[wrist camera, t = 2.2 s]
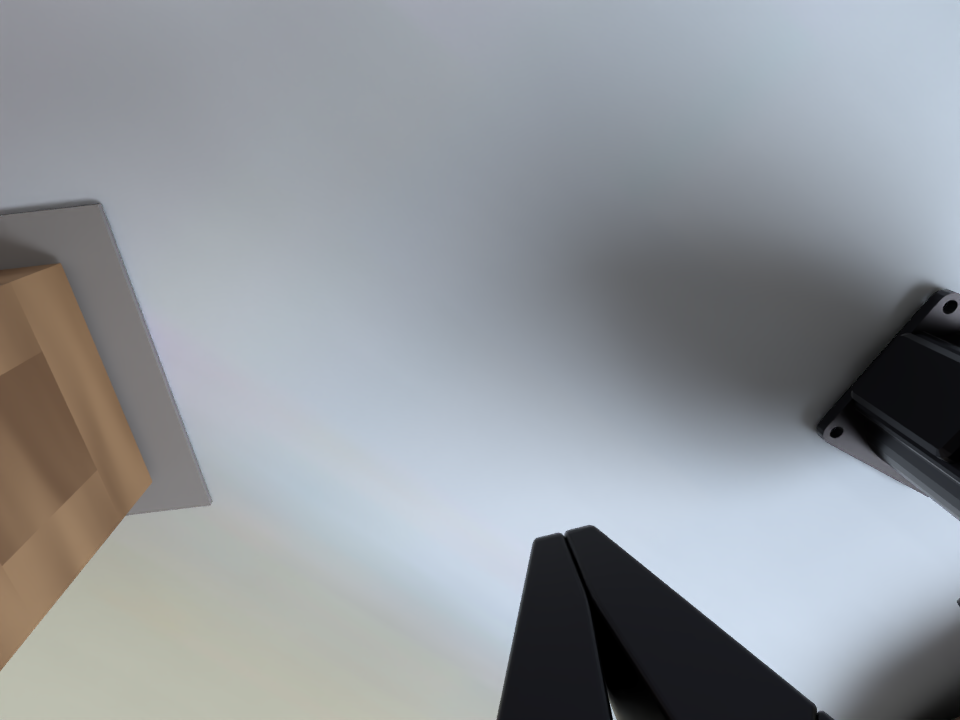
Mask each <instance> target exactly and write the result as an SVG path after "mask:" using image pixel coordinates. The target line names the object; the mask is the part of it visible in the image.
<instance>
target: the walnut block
mask: <svg viewBox="0 0 960 720" xmlns="http://www.w3.org/2000/svg"><path fill="white" fill-rule="evenodd" d="M151 483H152V479H151V477H150V475H149V472H148V470H147V467H146V465H145V463H144V460H143V458H142V455H141V453H140V451H139V448H138V446H137V444H136V441H135V439H134V436H133V434H132V432H131V429H130V427H129V424H128V422H127V420H126V417H125V415H124V413H123V410H122V408H121V405H120V403H119V401H118V398H117V396H116V393H115V391H114V389H113V386H112V384H111V382H110V379H109V377H108V374H107V372H106V370H105V367H104V365H103V362H102V360H101V358H100V355H99V353H98V351H97V348H96V346H95V343H94V341H93V339H92V336H91V334H90V331H89V329H88V327H87V324H86V322H85V319H84V317H83V315H82V312H81V310H80V308H79V305H78V303H77V300H76V298H75V296H74V293H73V291H72V288H71V286H70V284H69V281H68V279H67V277H66V274H65V272H64V269H63V267H62V265H61V263H57V264H48V265H40V266H31V267H22V268H14V269H5V270H0V671H1V670H2V668H3V667H4V666H5V665H6V663H7V662H8V661H9V660H10V658H11V657H12V656H13V655H14V653H15V652H16V651H17V650H18V648H19V647H20V646H21V645H22V644H23V642H24V641H25V640H26V639H27V637H28V636H29V635H30V634H31V632H32V631H33V630H34V629H35V627H36V626H37V625H38V624H39V622H40V621H41V620H42V619H43V617H44V616H45V615H46V614H47V612H48V611H49V610H50V609H51V608H52V606H53V605H54V604H55V603H56V601H57V600H58V599H59V598H60V596H61V595H62V594H63V593H64V591H65V590H66V589H67V588H68V586H69V585H70V584H71V583H72V581H73V580H74V579H75V578H76V576H77V575H78V574H79V573H80V572H81V570H82V569H83V568H84V567H85V565H86V564H87V563H88V562H89V560H90V559H91V558H92V557H93V555H94V554H95V553H96V552H97V550H98V549H99V548H100V547H101V545H102V544H103V543H104V542H105V540H106V539H107V538H108V537H109V536H110V534H111V533H112V532H113V531H114V529H115V528H116V527H117V526H118V524H119V523H120V522H121V521H122V519H123V518H124V517H125V516H126V514H127V513H128V512H129V511H130V509H131V508H132V507H133V506H134V504H135V503H136V502H137V501H138V500H139V498H140V497H141V496H142V495H143V493H144V492H145V491H146V490H147V488H148V487H149V486H150V485H151Z"/></svg>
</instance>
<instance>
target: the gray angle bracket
mask: <svg viewBox="0 0 960 720" xmlns="http://www.w3.org/2000/svg"><path fill="white" fill-rule="evenodd" d="M57 263H61V265H62V267H63V269H64V272H65V274H66V277H67V279H68V281H69V284H70V286H71V288H72V291H73V293H74V296H75V298H76V300H77V303H78V305H79V308H80V310H81V312H82V315H83V317H84V319H85V322H86V324H87V327H88V329H89V331H90V334H91V336H92V339H93V341H94V343H95V346H96V348H97V351H98V353H99V355H100V358H101V360H102V362H103V365H104V367H105V370H106V372H107V374H108V377H109V379H110V382H111V384H112V386H113V389H114V391H115V393H116V396H117V398H118V401H119V403H120V405H121V408H122V410H123V413H124V415H125V417H126V420H127V422H128V424H129V427H130V429H131V432H132V434H133V436H134V439H135V441H136V444H137V446H138V448H139V451H140V453H141V455H142V458H143V460H144V463H145V465H146V467H147V470H148V472H149V475H150V477H151V479H152V483H151V485H150V486H149V487H148V488H147V490H146V491H145V492H144V493H143V495H142V496H141V497H140V498H139V500H138V501H137V502H136V503H135V504H134V506H133V507H132V508H131V509H130V511H129V512H128V513H127V514H126V515H133V514H141V513H149V512H158V511H166V510H174V509H183V508H191V507H199V506H208V505H211V503H212V499H211V497H210V494H209V491H208V489H207V486H206V483H205V481H204V478H203V475H202V473H201V470H200V467H199V465H198V462H197V459H196V456H195V454H194V451H193V448H192V446H191V443H190V440H189V438H188V435H187V432H186V430H185V427H184V424H183V422H182V419H181V416H180V413H179V411H178V408H177V405H176V403H175V400H174V397H173V395H172V392H171V389H170V387H169V384H168V381H167V379H166V376H165V373H164V371H163V368H162V365H161V362H160V360H159V357H158V354H157V352H156V349H155V346H154V344H153V341H152V338H151V336H150V333H149V330H148V328H147V325H146V322H145V320H144V317H143V314H142V311H141V309H140V306H139V303H138V301H137V298H136V295H135V293H134V290H133V287H132V285H131V282H130V279H129V277H128V274H127V271H126V268H125V266H124V263H123V260H122V258H121V255H120V252H119V250H118V247H117V244H116V242H115V239H114V236H113V234H112V231H111V228H110V226H109V223H108V220H107V217H106V215H105V212H104V209H103V207H102V204H94V205H85V206H76V207H68V208H59V209H50V210H42V211H33V212H24V213H15V214H7V215H0V270H5V269H14V268H22V267H31V266H40V265H48V264H57Z"/></svg>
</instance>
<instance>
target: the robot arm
mask: <svg viewBox="0 0 960 720" xmlns="http://www.w3.org/2000/svg"><path fill="white" fill-rule="evenodd" d="M946 302H948V304H947V305H946V307H945V308H943V306H944V304H945V303H946ZM834 427H836V428H835V430H834V431H832V432H831V430H832V429H833V428H834ZM817 433H818V435H819V436H820V437H821V438H822V439H824V440H825V441H826V442H827V443H829V444H831V445H833V446H834V447H836V448H838V449H840V450H842V451H844V452H846V453H847V454H849V455H851V456H853V457H855V458H857V459H859V460H860V461H862V462H864V463H866V464H868V465H870V466H872V467H873V468H875V469H877V470H879V471H881V472H883V473H885V474H886V475H888V476H890V477H892V478H894V479H896V480H898V481H899V482H901V483H903V484H905V485H907V486H909V487H910V488H912V489H914V490H916V491H918V492H920V493H922V494H923V495H925V496H927V497H930V498H931V499H932V500H934V501H935V502H936V503H938V504H939V505H940V506H941V507H943V508H944V509H945V510H946V511H948V512H949V513H950V514H952V515H953V516H954V517H955V518H957V519H958V520H959V521H960V294H959V293H956V292H953V291H950V290H947V289H946V290H940V291H938V292H936V293H935V294H933V295H932V296H931V297H930V298H929V299H928V300H927V302H926V303H925V304H924V305H923V306H922V307H921V308H920V309H919V311H918V312H917V313H916V314H915V315H914V316H913V317H912V318H911V320H910V321H909V322H908V323H907V324H906V325H905V326H904V328H903V329H902V330H901V331H900V332H899V333H898V334H897V335H896V337H895V338H894V339H893V340H892V341H891V342H890V343H889V344H888V346H887V347H886V348H885V349H884V350H883V351H882V352H881V353H880V355H879V356H878V357H877V358H876V359H875V360H874V361H873V363H872V364H871V365H870V366H869V367H868V368H867V369H866V370H865V372H864V373H863V374H862V375H861V376H860V377H859V378H858V379H857V381H856V382H855V383H854V384H853V385H852V386H851V387H850V388H849V390H848V391H847V392H846V393H845V394H844V395H843V396H842V398H841V399H840V400H839V401H838V402H837V403H836V404H835V405H834V407H833V408H832V409H831V410H830V411H829V412H828V413H827V414H826V416H825V417H824V418H823V419H822V420H821V421H820V423H819V424H818V426H817ZM957 603H958V605H959V606H960V598H959V599H958V601H957ZM609 701H610V702H609ZM610 704H611V706H612V709H613V711H614V714H615V716H616V719H617V720H834V719H833V718H831V717H830V716H829V715H828V714H827V713H825V712H824V711H819V712H818V713H817V708H816V706H815V704H814V703H813V702H811V701H810V700H809V699H808V698H806V697H805V696H804V695H803V694H801V693H800V692H799V691H798V690H796V689H795V688H794V687H793V686H791V685H790V684H789V683H788V682H787V681H785V680H784V679H783V678H782V677H780V676H779V675H778V674H777V673H775V672H774V671H773V670H772V669H770V668H769V667H768V666H767V665H766V664H764V663H763V662H762V661H761V660H759V659H758V658H757V657H756V656H754V655H753V654H752V653H751V652H749V651H748V650H747V649H746V648H745V647H743V646H742V645H741V644H740V643H738V642H737V641H736V640H735V639H733V638H732V637H731V636H730V635H728V634H727V633H726V632H725V631H723V630H722V629H721V628H720V627H719V626H717V625H716V624H715V623H714V622H712V621H711V620H710V619H709V618H707V617H706V616H705V615H704V614H702V613H701V612H700V611H699V610H698V609H696V608H695V607H694V606H693V605H691V604H690V603H689V602H688V601H686V600H685V599H684V598H683V597H681V596H680V595H679V594H678V593H677V592H675V591H674V590H673V589H672V588H670V587H669V586H668V585H667V584H665V583H664V582H663V581H662V580H660V579H659V578H658V577H657V576H655V575H654V574H653V573H652V572H651V571H649V570H648V569H647V568H646V567H644V566H643V565H642V564H641V563H639V562H638V561H637V560H636V559H634V558H633V557H632V556H631V555H630V554H628V553H627V552H626V551H625V550H623V549H622V548H621V547H620V546H618V545H617V544H616V543H615V542H613V541H612V540H611V539H610V538H608V537H607V536H606V535H605V534H604V533H602V532H601V531H600V530H599V529H597V528H596V527H595V526H592V525H587V526H583V527H579V528H575V529H571V530H568V531H566V532H565V535H564V536H563V535H562V534H561V533H555V534H551V535H547V536H543V537H539V538H536V539H535V540H534V542H533V544H532V549H531V554H530V559H529V564H528V568H527V573H526V578H525V583H524V588H523V593H522V598H521V603H520V608H519V612H518V617H517V622H516V627H515V632H514V637H513V642H512V647H511V652H510V656H509V661H508V666H507V671H506V676H505V681H504V686H503V691H502V696H501V701H500V705H499V710H498V715H497V720H613V718H612V712H611V707H610Z"/></svg>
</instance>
